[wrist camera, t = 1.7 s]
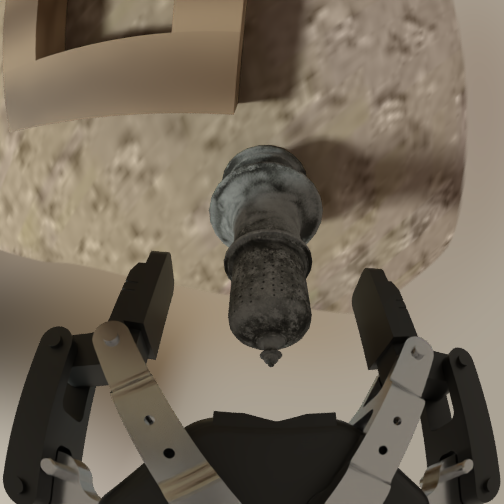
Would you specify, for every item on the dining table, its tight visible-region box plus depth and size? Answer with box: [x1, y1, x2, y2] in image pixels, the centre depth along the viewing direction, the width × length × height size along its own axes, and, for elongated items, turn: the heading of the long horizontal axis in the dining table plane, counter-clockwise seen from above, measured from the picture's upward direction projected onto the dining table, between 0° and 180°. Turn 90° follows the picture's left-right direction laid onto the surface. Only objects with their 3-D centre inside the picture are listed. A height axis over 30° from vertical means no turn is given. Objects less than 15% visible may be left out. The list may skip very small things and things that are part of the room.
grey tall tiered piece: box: [209, 145, 323, 367], centre depth 13 cm, size 6×6×12 cm
